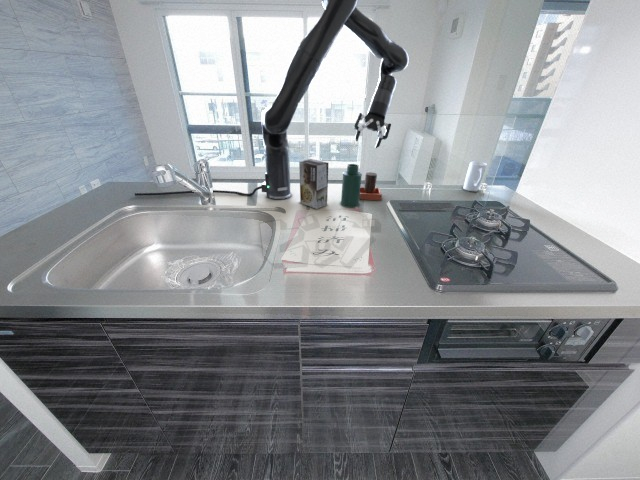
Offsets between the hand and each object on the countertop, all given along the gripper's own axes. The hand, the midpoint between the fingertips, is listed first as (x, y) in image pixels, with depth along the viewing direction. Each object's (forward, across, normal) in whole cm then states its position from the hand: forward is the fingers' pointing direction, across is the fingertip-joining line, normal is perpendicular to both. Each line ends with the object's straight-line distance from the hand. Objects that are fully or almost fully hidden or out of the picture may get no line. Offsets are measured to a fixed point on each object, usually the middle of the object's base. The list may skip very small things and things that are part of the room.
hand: (366, 144), depth 109 cm
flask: (+25, 0, -10) cm, 27 cm away
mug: (+2, +54, +10) cm, 55 cm away
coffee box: (+30, -13, -11) cm, 34 cm away
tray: (+20, +8, -1) cm, 21 cm away
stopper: (+19, +8, -1) cm, 21 cm away
